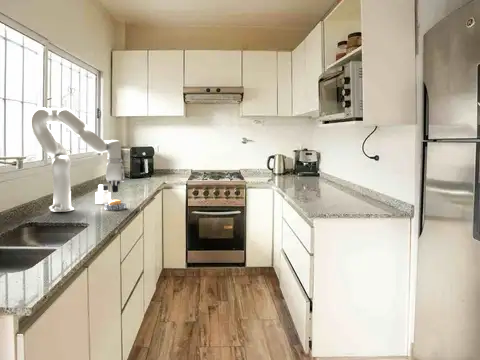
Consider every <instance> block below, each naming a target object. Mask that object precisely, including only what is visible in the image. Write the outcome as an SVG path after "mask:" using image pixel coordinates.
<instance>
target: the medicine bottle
mask: <svg viewBox="0 0 480 360" xmlns="http://www.w3.org/2000/svg"><path fill="white" fill-rule="evenodd" d="M97 187H98V188H97V191H96V192H95V204H98V205H104V204H105V203H109V201H110V200H112V192H111V191H109V185H108V184H98V185H97Z"/></svg>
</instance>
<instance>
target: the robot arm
mask: <svg viewBox="0 0 480 360" xmlns="http://www.w3.org/2000/svg"><path fill="white" fill-rule="evenodd" d="M48 124H63V125H64V126H65V127H66V128H68V130H70V131H71V132H72V133H73V134H74V135H76V136H77V138H79V139H80V140H82V141H83V142H84V143H85V144H86V145H87V146H88V147H90V148H91V149H92V150H93V151H95V152H96V153H98V154H103V153H107V163H106V167H105V179H106V183H109V184H110V185H111V188H112V189H111V190H112V193H118V192H119V185H120V184H121V183H124V182H125V181H124V180H125V171H124V169H125V168H124V165H123V163H122V162H124V160H123V159H122V156H121V154H122V153H121V152H122V151H121V141H120V140H117V139H111V140H105V139H102V138H100V136H99V135H97V134H96V132H94V131H93V130H92V129H91V128H90V127H89V125H88V124H87V123H85V122H84V121H83V119H81V118H80V117H79V116H78V115H77V114H75V113H74V111H72V110H71V109H69V108H67V107H63V108H46V107H38V108H36V109H35V111H34V112H33V114H32V115H31V117H30V126H31V127H30V128H31V130H32V132H33V134H34V135H35V138H36V140H37V141H38V143H39V145H40V146H41V149H42V150H43V152H44V153H45V154H46V155H48V157H49V158H50V161H51V173H52V174H51V175H52V176H51V177H52V196H53V198H52V199H53V200H52V201H53V203H52V205H50V206H48V209H49V210H50V211H51V212H54V213H61V212H62V213H64V212H65V213H66V212H72V211H74V210H75V208H74V207H73V206H72V191H71V169H70V168H71V167H72V160H71V158H70V156H69V154H68V153H67V151H66V149H65V148H64V146H63V144H62V143H61V142H60V141H59V140H58V139H56V138H55V136H54V134H53V133H52V131H51V129H50V128H49V125H48Z"/></svg>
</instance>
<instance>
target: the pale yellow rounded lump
mask: <svg viewBox="0 0 480 360" xmlns="http://www.w3.org/2000/svg"><path fill="white" fill-rule="evenodd" d="M121 202H122V200H121V199H111V200H110V201H109V205H120V204H121Z"/></svg>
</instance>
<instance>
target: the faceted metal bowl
mask: <svg viewBox="0 0 480 360" xmlns="http://www.w3.org/2000/svg"><path fill="white" fill-rule="evenodd" d="M103 207H104V208H103V209H104V211H124V210H127V203H126V202H122V201H121V204H120V205H109V203H105V204H103Z"/></svg>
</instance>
